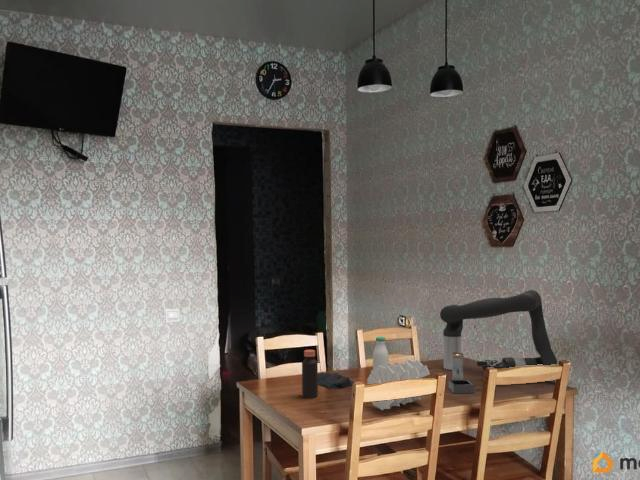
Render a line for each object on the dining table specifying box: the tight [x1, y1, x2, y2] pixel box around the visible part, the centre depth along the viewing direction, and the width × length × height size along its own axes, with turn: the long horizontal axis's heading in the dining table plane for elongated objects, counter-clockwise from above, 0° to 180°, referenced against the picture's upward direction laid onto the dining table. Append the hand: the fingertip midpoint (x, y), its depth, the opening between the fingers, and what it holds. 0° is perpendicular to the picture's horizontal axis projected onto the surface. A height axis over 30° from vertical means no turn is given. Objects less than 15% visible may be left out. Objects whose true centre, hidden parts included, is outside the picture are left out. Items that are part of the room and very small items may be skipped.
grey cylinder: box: [452, 352, 465, 380], centre depth 273 cm, size 5×5×14 cm
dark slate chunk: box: [318, 371, 355, 390], centre depth 276 cm, size 15×22×5 cm
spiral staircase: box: [366, 358, 430, 411], centre depth 239 cm, size 18×18×25 cm
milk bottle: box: [372, 336, 390, 370], centre depth 284 cm, size 8×8×20 cm
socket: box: [448, 379, 475, 394], centre depth 260 cm, size 9×9×4 cm
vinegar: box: [301, 349, 319, 399], centre depth 253 cm, size 7×7×20 cm
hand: (479, 365), depth 273 cm, fingers open, 8 cm apart
